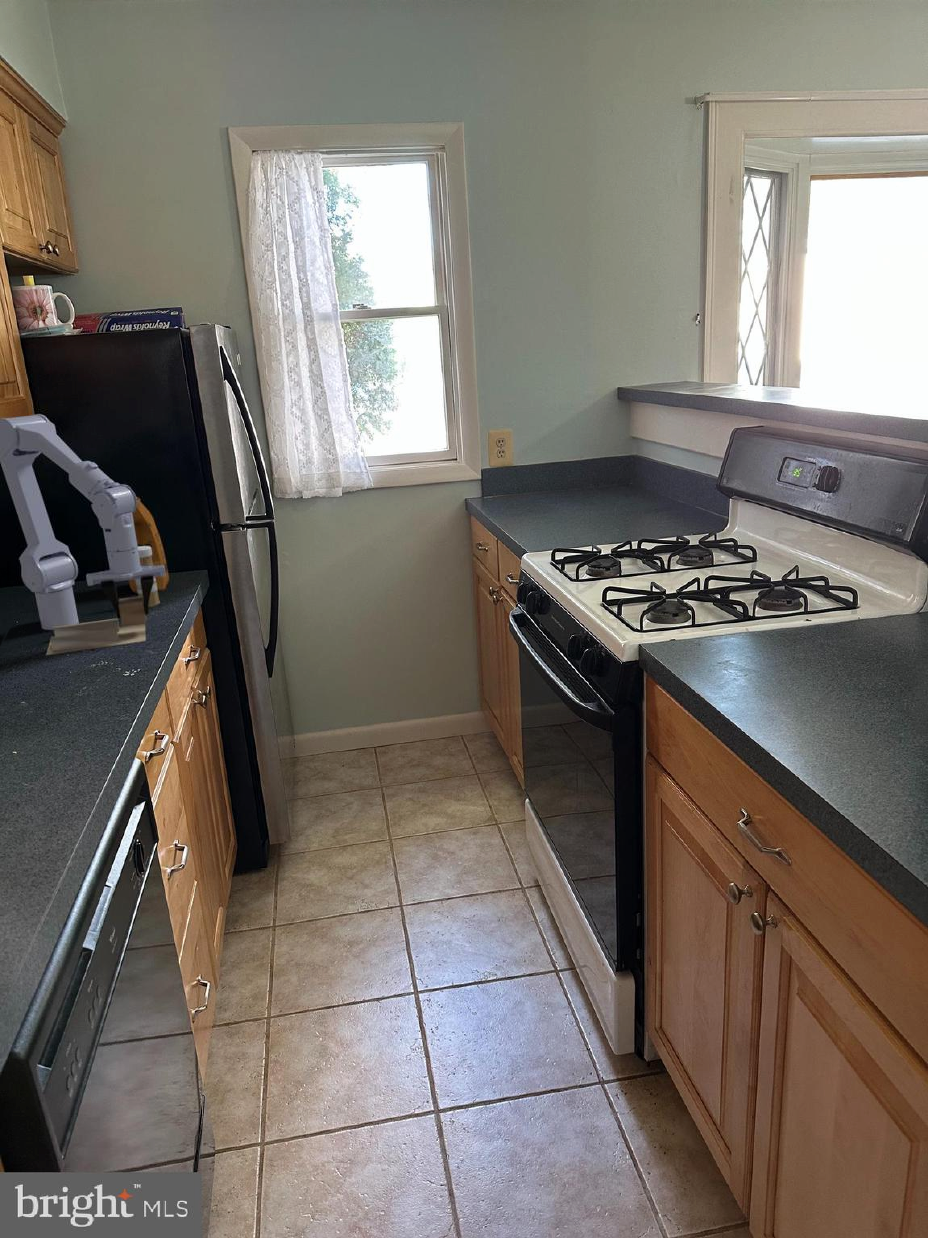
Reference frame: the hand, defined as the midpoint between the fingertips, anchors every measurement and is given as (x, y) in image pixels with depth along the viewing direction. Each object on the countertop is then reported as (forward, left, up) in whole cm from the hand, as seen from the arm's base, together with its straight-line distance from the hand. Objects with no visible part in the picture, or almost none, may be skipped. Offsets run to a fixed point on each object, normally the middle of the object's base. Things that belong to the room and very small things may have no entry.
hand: (133, 615), depth 177 cm
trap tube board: (0, -7, -5) cm, 9 cm away
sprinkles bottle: (-25, +3, -5) cm, 26 cm away
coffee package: (-43, +3, -5) cm, 43 cm away
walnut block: (0, 0, -1) cm, 1 cm away
